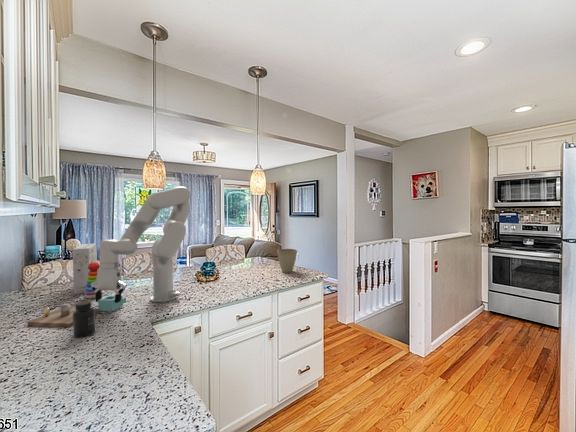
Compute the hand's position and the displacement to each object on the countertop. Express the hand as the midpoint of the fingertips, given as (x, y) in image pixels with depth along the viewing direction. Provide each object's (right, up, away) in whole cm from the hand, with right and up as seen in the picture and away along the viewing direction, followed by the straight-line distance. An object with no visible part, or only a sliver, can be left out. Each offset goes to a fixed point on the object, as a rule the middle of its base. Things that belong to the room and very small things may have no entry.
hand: (108, 301), depth 132 cm
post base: (-11, -4, -11) cm, 16 cm away
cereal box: (-35, -2, +34) cm, 48 cm away
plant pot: (+85, -1, +75) cm, 114 cm away
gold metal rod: (-18, -2, -13) cm, 22 cm away
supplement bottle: (+8, -5, -26) cm, 27 cm away
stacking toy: (-19, -3, +17) cm, 26 cm away
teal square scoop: (+1, -3, +4) cm, 5 cm away
